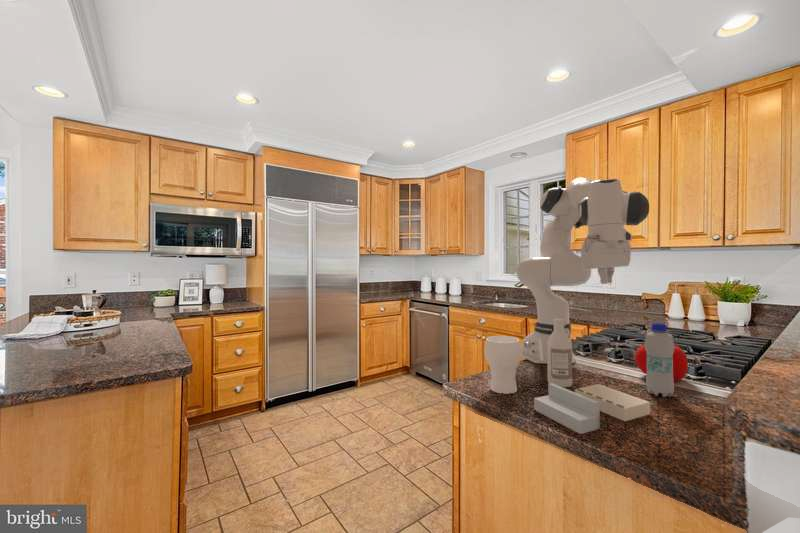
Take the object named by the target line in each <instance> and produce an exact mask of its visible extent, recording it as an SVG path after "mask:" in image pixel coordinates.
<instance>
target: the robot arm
mask: <svg viewBox="0 0 800 533" xmlns="http://www.w3.org/2000/svg"><path fill="white" fill-rule="evenodd" d="M539 207H540V209H541V211H543V212H544V213H546V214H550V215H552V216H554V217H553V218H551V219H549V220H548V222H547V223H546V225H545V227H544V228H543V232H542V234H541V235H542V236H541V242H540V248H539V249H540V250H539V251H540V253H541V255H542V256H534V257H529V258H528V257H527V258H525V259H521V260H520V261H519V263H518V264H517V267H516V276H517V278H518V280H519V282H520V283H521V284H523V285H524V286H526V288H528V289H529V291H530V292H531V293H532V295H533V297H534V300H535V304H536V312H537V314H536V315H537V316H536V317H537V321H536V322H532V326H533V327H534V329H533V331H532V332H531V333H529V334H528V335H526V336H525V337H524V338H523V339H522V341H521V349H522V356H521V358H524V359H526V360H528V361H530V362H532V363H535V364H545V365H546V364H547V342H548V339H549V337H550V335H551V334H552V332H553V331H554V322H553V320H554V319H556V318H559V319H564V332H565V333H566V335H567V336H568V338H569V339H570V342H571V343H572V340H571V333H572V326H571V322H570V304H569V302H568V301H567V299H565V298H564V297H563V296H561V295H559V294H556V293H554V292H553V291H552V288H551V287H555V286H556V287H573V286H580V285H585V284H586V283H587V282H588V281H589V280H590V279H591V276H592V270H593V269H597V273H598V275H599V278H600V282H599V283H600V284H602V285H606V284H607V285H608V284H612V283H613V278H614V273H615V268H619V267H620V268H623V267H628V266H629V265H630V263H631V256H632V255H631V253H632V252H631V248H632V247H631V243H630V242H632V240H633V236H632V233H631V232H629V231H628V230H627V229H625V227H624V226H638V225H639V224H641V223H642V222H644V221H645V220H646V218H648V215H649V212H650V202H649V199H648V198H647V196H645V195H644V194H643V193H642V192H640V191H632V192H627V191H625V190H623V189H622V183H621V180H620V179H617V178H607V179H597V180H592V179H591V178H588V177H577V178H575V179H572V181H570V182H569V184H568V186H567V187H566V188H562V185H561V186H558V187H552V188H549V189H547V190H546V191H545V192H544V194H543V195H542V196H541V198H540V206H539ZM584 226H586V227H587V236H586V237H585V239H584V240H583V243H582V245H581V251H580V256H579V255H578V254H576V253H575V252H574V251H573V250H572V229H573V227H574V228H575V229H580V228H581V227H584ZM571 346H573V345H572V344H571ZM575 359H576V358H575V356H574V352H573V350H572V364H574V363H575V362H576V360H575Z"/></svg>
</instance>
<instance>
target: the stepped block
mask: <svg viewBox="0 0 800 533" xmlns="http://www.w3.org/2000/svg"><path fill="white" fill-rule="evenodd" d="M547 385H548V386H547V389H548V390H547V391H548V394H547V395H543V396H542V395H541V396H539V397H534V398H533V405H534V406H533V410H534V411H535V410H536V411H535V412H538V413H540V414H541V415H544V416H545V417H547V418H549V419H551V420H553V421H555V422H556V423H558V424H560V425H562V426H564V427H566V428H568V429H569V430H572V431H573V432H576V433H578V434H580V435H582V434H586V433H590V432H593V431H596V430H599V429H601V416H600V414H601V413H600V412H601V411H600V403H599V402H597V401H595V400H592V399H590V398H587V397H585V396H583V395H580V394H578V393H575V391H572V390H570V389H568V388H566V387H564V388H563V387H560V386H558V385H555V384H553V383H548V384H547Z"/></svg>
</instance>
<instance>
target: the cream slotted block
mask: <svg viewBox="0 0 800 533" xmlns="http://www.w3.org/2000/svg"><path fill="white" fill-rule="evenodd" d="M574 392H575V393H578V394H580V395H583V396H585V397H587V398H590V399H592V400H595V401H597V402H599V403H600V412H602V413H604V414H606V415H609V416H611V417H614V418H616V419H619V421H620V420H621V421H623V422H628V421H631V420H635V419H638V418H642V417H645V416H649V415H651V401H648V400H647V399H646V400H645V399H642V398H639V397H638V396H637V397H636V396H634V395H630V394H628V393H626V392H622V391H620V390H617V389H614V388H610V387H608V386H605V385H603V384H600V383H599V384H598V383H597V384H593V385H588V386H583V387H580V388H579V387H578V388H575V389H574Z"/></svg>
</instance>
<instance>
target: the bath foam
mask: <svg viewBox="0 0 800 533" xmlns="http://www.w3.org/2000/svg"><path fill="white" fill-rule="evenodd" d="M553 322H554V331H553V332H552V334H551V335H550V337H549V339H548V342H547V366H546V367H547V368H546V369H547V372H546V374H547V383H548V384H549V383H553V384H555V385H558V386H560V387H563V388H570V387H572V385H573V363H572V351H573V347H572V346H573V345H572V341H571V342H570V339H569V338H568V336H567V335H566V333H565V332H564V319H559V318H556V319H554V320H553ZM571 345H572V346H571Z"/></svg>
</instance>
